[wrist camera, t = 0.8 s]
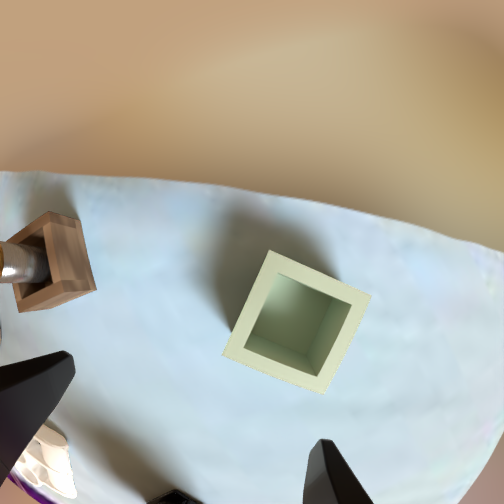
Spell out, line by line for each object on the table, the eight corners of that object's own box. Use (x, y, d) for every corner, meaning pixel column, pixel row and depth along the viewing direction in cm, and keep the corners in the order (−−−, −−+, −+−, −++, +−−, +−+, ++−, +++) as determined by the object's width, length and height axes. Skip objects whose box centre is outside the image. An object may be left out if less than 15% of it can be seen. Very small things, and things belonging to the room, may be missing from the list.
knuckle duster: (83, 502, 21) (16, 455, 22) (70, 421, 22) (-1, 369, 23) (74, 513, 18) (5, 462, 19) (55, 432, 19) (-16, 374, 20)
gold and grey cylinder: (57, 289, 22) (-44, 293, 10) (43, 265, 22) (-54, 258, 10) (73, 266, 22) (-33, 259, 10) (58, 242, 22) (-42, 224, 10)
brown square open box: (96, 289, 23) (64, 292, 18) (50, 308, 23) (19, 312, 18) (80, 220, 23) (48, 211, 18) (37, 246, 24) (6, 241, 19)
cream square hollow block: (309, 366, 22) (323, 394, 16) (232, 334, 22) (221, 355, 16) (344, 290, 22) (371, 295, 16) (267, 255, 22) (269, 249, 16)
